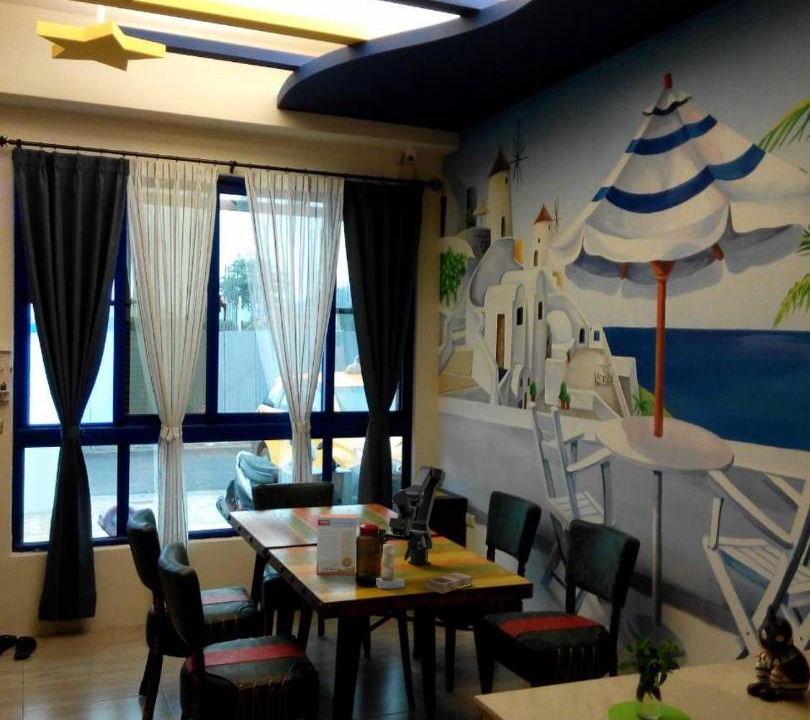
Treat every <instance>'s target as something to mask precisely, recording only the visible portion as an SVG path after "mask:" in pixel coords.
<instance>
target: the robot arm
mask: <svg viewBox="0 0 810 720" xmlns="http://www.w3.org/2000/svg"><path fill="white" fill-rule="evenodd" d="M419 469H420V471H419V472H418V474H417V476H416V477H415V479H414V481H413V483H412V485H411V486H408V487H406V488H405V489H400V492H397V493H395V494H394V495H393V496H392V503H393V505H394V508H395V510H396V512H397V513H398V514H397V515H398V516H397V517H390V518H389V523H388V527H389V528H390V532H392V533H390V532H387V531H386V529H385V528H380V527H377V528H378V529H379V537H380V543H381V557H380V558H383V545H384V544H387V542H388V541H389V540H395V541H401V542H406V543H407V549H406V552H405V554H404V558H403V561H404V562H406V561H407V563H408V564H411V565H415V566H419V567H421V566H425V564H426V565H429V563H430V564H431V563H432V562H431V561H429V550H432V549H433V545H434V544H433V543H434V541H433V538H432V536H431V530H430V527H429V522H430V518H431V514H432V509H433V506H434V502H435V497H436V494H437V491H438V490H439V489H441V487H442V486H443V483H444V481H445V479H446V472H445V471H444V470H443V468H437V467H435V466H431V465H421V467H420V468H419ZM415 508H418V512H417V513H416V510H415ZM416 514H417V515H416ZM415 518H416V520H414V519H415ZM409 558H410V560H409Z"/></svg>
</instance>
